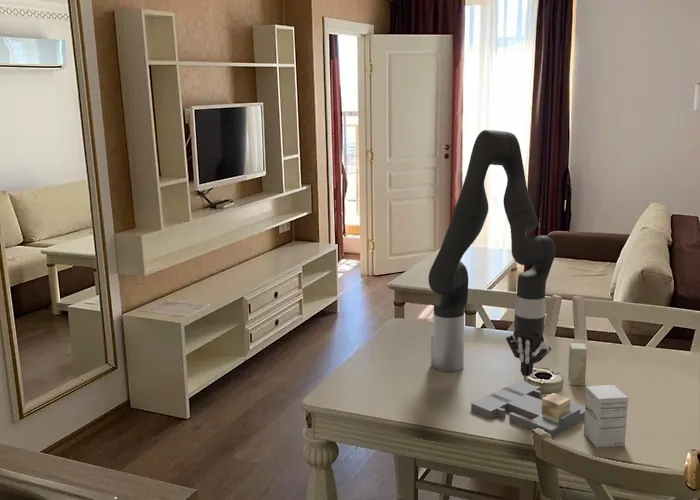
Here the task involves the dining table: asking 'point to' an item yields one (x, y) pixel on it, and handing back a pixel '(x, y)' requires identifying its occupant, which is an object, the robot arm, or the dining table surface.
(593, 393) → the supplement box
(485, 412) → the track
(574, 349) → the box
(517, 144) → the robot arm
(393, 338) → the dining table surface
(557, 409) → the block
